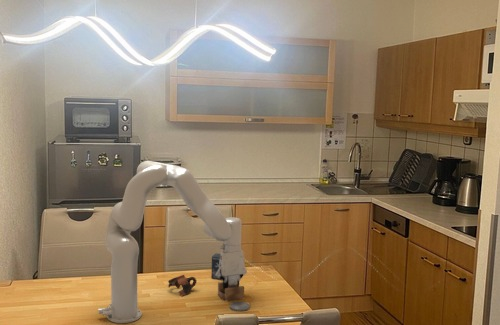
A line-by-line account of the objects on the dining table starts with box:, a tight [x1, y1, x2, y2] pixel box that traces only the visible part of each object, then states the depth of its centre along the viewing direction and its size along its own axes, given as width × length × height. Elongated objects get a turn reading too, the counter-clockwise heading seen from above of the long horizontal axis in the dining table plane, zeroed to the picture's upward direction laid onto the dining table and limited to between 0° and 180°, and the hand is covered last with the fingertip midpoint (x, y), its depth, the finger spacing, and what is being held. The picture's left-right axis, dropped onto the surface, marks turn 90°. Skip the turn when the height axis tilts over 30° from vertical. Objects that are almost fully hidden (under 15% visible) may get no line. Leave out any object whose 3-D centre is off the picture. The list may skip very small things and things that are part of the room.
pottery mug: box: [167, 274, 197, 297], centre depth 223 cm, size 12×10×8 cm
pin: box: [227, 275, 238, 288], centre depth 219 cm, size 4×5×11 cm
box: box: [211, 252, 223, 280], centre depth 240 cm, size 8×6×11 cm
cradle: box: [217, 280, 245, 302], centre depth 219 cm, size 9×9×5 cm
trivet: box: [229, 300, 251, 312], centre depth 208 cm, size 8×8×1 cm
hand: (231, 289), depth 219 cm, fingers closed on pin, 4 cm apart
